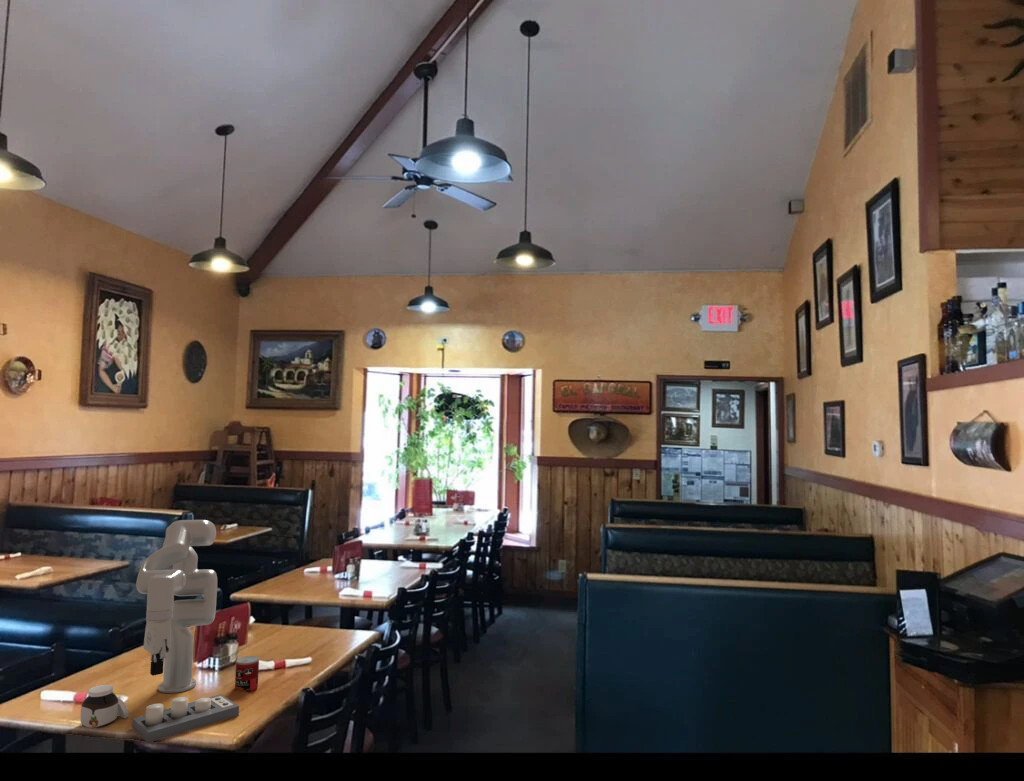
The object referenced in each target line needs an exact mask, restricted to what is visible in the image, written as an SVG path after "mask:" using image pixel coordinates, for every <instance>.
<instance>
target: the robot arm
mask: <svg viewBox="0 0 1024 781" xmlns="http://www.w3.org/2000/svg"><path fill="white" fill-rule="evenodd" d="M216 537H217V529H216V526H215V524H214V523H213V522H212V521H210V520H208V519H207V520H206V519H181V520H179V519H178V520H175V521H173V522H172V523H171V524H170V525H168V526H167V527H166V529H165V538H164V541H163V544H162V548H160V549H158V550H156V551H155V552H153V553H152V554H150V555H149V556H148V557H147V558H145V559H144V561H143V562H142V564H141V566H140V568H139V571H138V575H137V578H136V582H135V584H136V585H135V586H136V587H135V588H136V589H137V591H138V593H139V594H142V595H143V594H144V595H146V596H147V597H146V612H145V615H146V616H145V622H146V624H145V630H144V639H143V649H144V650H145V651H146V652H148V653H150V675H151V676H158V675H162V674H163V678H162V680H163V681H162V682H161V683H160V684H158V688H157V689H158V691H159V692H161V693H164V694H165V693H166V694H176V693H182V692H185V691H189V690H191V689H193V688H195V687H196V685H197V680H196V679H195V678H193V664H194V662H193V659H194V644H195V642H194V640H195V638H194V634H193V632H192V631H191V629H190V628H189V627H196V626H207V625H211V624H212V623H213V622H214V620H215V618H216V611H217V598H218V596H217V595H218V594H217V593H218V576H217V575H218V574H217V572H216V571H215V570H214V569H208V568H207V569H205V568H203V569H198V562H199V560H198V559H199V557H198V553H197V552H196V551H195V549H194V548H193V547H200V546H201V547H202V546H203V547H204V546H205V547H206V546H211V545H213V543H214V542H215V541H216ZM171 566H172V568H171V569H165V568H168V567H171ZM175 596H177V597H190V596H191V597H193V596H201V597H203V598H200V599H199V598H198V599H197V598H196V599H177V600H175Z"/></svg>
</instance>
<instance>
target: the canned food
mask: <svg viewBox="0 0 1024 781" xmlns="http://www.w3.org/2000/svg"><path fill="white" fill-rule="evenodd" d="M259 665H260V658H259V656H256V655H248V656H247V655H246V656H242V657H239V658H237V659H236V661H235V680H234V682H235V684H234V690H235V691H238V692H246V693H253V692H255V691H257V690H258V687H259V673H260V672H259V667H260V666H259Z"/></svg>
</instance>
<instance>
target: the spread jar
mask: <svg viewBox="0 0 1024 781" xmlns="http://www.w3.org/2000/svg"><path fill="white" fill-rule="evenodd" d="M113 691H114V686H113V685H111V684H101V685H96V686H93V687H91V688H89V689H88V691H87V692H88V694H87V695H88V696H87V697H85V698H84V700H83V701H82V703H81V706H80V714H79V716H80V723H81V726H83V727H85V728H90V729H91V728H92V729H93V728H94V729H101V728H104V727H107V726H109V725H112V724H113V723H114V722H115V721H116V719H117V718H118V717H121V718H123V719H125V720H126V719H127V718H129V717H130V714H129V713H130V712H129V709H128V707H127V705H126V703H125V702H124V701H123V700H122V699H121V698H119V697H118V696H117V695H116V693H114V692H113Z"/></svg>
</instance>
